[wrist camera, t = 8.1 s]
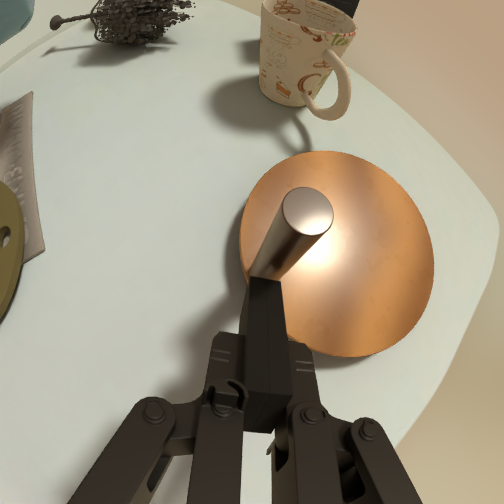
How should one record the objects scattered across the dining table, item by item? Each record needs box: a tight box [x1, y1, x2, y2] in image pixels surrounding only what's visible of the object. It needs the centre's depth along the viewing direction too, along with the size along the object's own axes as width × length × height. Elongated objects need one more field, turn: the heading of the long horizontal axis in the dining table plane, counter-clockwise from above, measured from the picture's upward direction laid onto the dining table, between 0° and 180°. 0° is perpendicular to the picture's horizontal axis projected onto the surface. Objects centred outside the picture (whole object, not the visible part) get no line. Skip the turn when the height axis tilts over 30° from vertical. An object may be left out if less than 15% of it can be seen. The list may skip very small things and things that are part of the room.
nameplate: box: [0, 91, 45, 265], centre depth 20 cm, size 23×1×5 cm
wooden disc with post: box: [239, 151, 434, 357], centre depth 15 cm, size 16×16×10 cm
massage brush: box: [50, 0, 196, 44], centre depth 23 cm, size 9×22×9 cm
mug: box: [259, 0, 357, 121], centre depth 21 cm, size 8×13×10 cm, turn 24°
